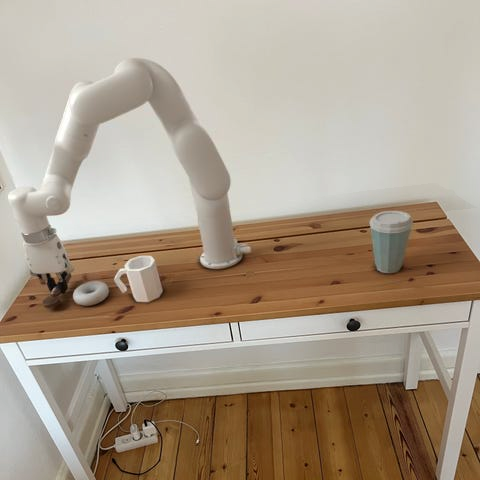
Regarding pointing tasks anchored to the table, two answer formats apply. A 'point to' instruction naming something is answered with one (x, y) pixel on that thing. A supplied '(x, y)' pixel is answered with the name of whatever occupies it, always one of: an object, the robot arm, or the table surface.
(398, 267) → the disposable coffee cup
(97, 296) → the donut
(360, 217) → the table surface
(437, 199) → the table surface
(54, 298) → the spoon
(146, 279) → the mug
